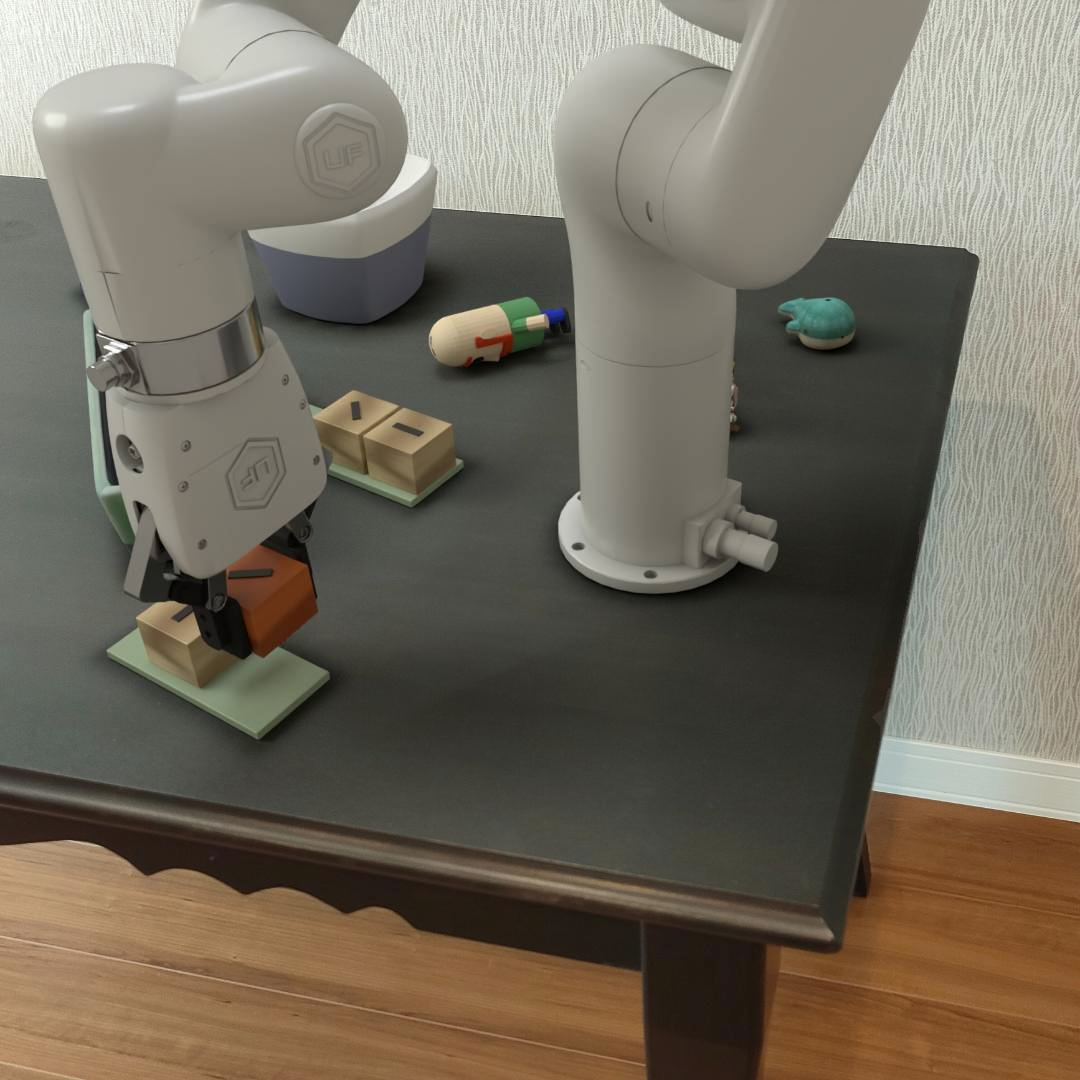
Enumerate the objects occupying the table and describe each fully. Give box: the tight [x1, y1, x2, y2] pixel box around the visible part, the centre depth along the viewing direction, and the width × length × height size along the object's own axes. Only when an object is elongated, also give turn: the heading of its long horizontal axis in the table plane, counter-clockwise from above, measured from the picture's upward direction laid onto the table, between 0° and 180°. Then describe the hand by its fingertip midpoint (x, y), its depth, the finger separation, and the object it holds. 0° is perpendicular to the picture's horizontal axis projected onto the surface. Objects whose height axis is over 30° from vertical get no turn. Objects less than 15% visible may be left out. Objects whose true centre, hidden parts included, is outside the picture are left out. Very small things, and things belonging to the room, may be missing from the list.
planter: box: [82, 308, 173, 562], centre depth 94 cm, size 28×7×7 cm, turn 18°
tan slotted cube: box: [135, 601, 238, 688], centre depth 77 cm, size 4×4×4 cm
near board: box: [106, 626, 331, 741], centre depth 77 cm, size 13×6×1 cm, turn 55°
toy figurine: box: [428, 296, 572, 368], centre depth 106 cm, size 8×4×12 cm
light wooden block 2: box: [363, 407, 457, 495], centre depth 92 cm, size 4×4×4 cm
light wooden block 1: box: [313, 389, 401, 474], centre depth 94 cm, size 4×4×4 cm
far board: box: [308, 403, 465, 508], centre depth 96 cm, size 16×6×1 cm, turn 55°
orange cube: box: [226, 544, 319, 658], centre depth 72 cm, size 4×4×4 cm
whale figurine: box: [777, 297, 856, 350], centre depth 106 cm, size 6×7×4 cm
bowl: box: [247, 152, 439, 325], centre depth 114 cm, size 15×15×11 cm
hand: (262, 618), depth 73 cm, fingers closed on orange cube, 4 cm apart
